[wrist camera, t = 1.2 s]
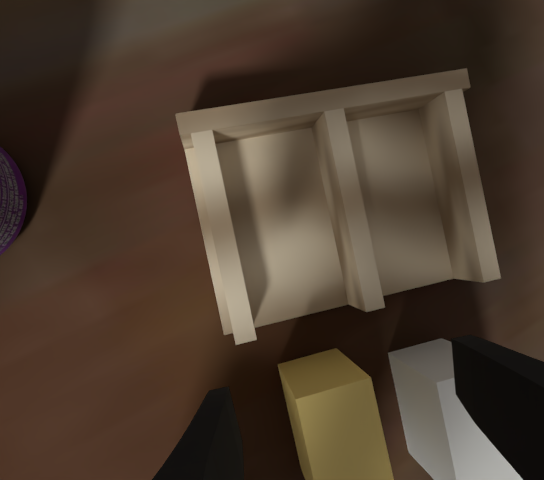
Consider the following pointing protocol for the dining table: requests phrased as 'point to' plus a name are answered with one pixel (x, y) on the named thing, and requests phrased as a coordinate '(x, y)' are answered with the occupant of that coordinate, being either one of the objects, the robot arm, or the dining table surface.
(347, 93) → the birch comb rack
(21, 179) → the beverage can
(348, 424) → the mustard plug
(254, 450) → the dining table surface
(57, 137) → the dining table surface
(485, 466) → the grey plug
